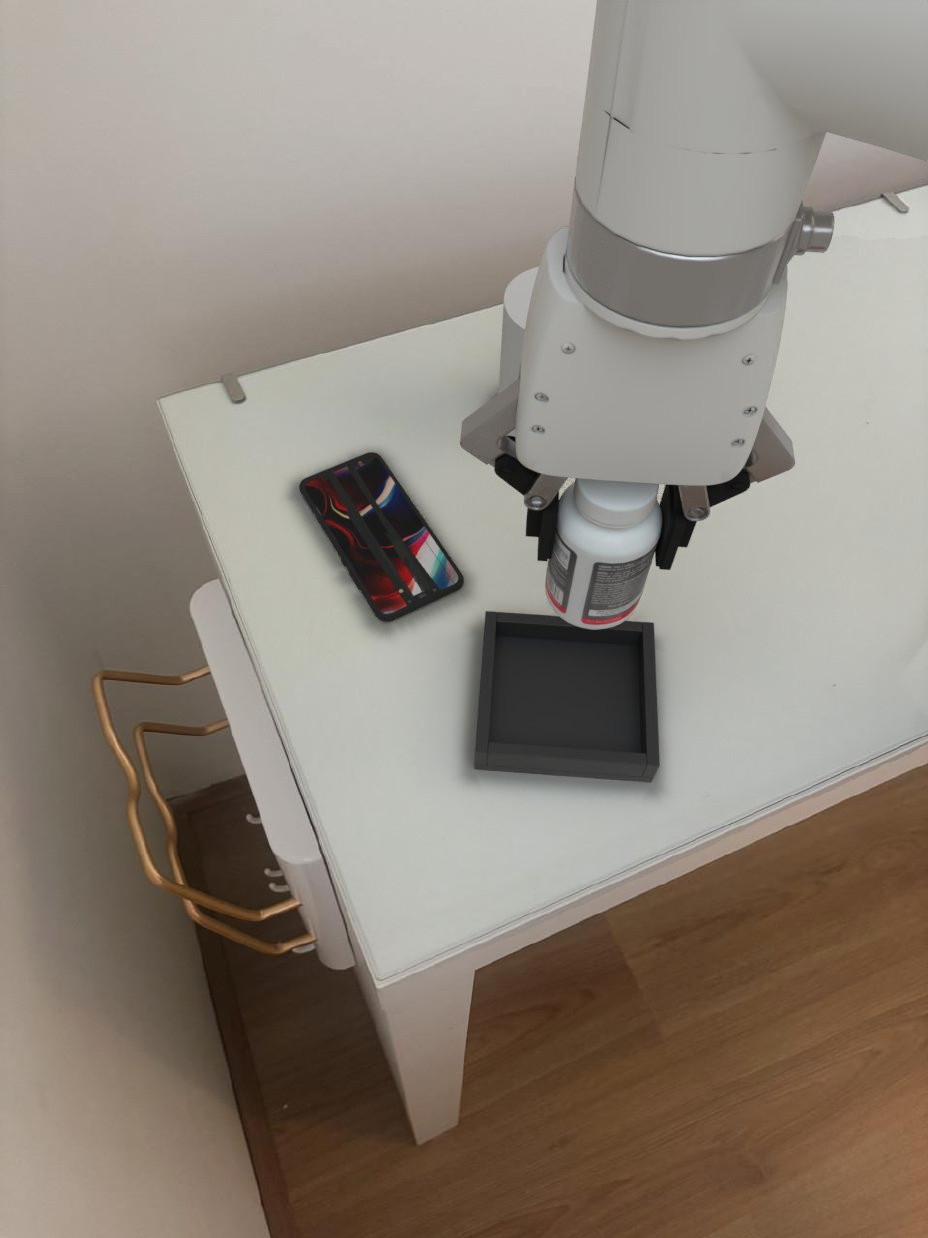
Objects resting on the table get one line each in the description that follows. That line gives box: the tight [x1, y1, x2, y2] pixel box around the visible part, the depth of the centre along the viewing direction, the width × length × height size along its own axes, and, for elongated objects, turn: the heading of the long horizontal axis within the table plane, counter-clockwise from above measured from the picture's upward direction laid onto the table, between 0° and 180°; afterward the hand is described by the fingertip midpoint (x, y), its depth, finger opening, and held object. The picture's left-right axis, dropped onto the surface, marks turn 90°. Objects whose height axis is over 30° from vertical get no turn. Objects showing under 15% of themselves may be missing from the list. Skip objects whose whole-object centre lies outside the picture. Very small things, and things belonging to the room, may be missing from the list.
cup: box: [498, 266, 539, 437], centre depth 72 cm, size 8×8×12 cm
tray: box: [473, 610, 661, 783], centre depth 61 cm, size 12×11×3 cm
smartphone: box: [298, 451, 465, 623], centre depth 70 cm, size 7×1×15 cm
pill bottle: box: [544, 478, 663, 630], centre depth 48 cm, size 5×5×10 cm
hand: (603, 541), depth 48 cm, fingers closed on pill bottle, 5 cm apart
